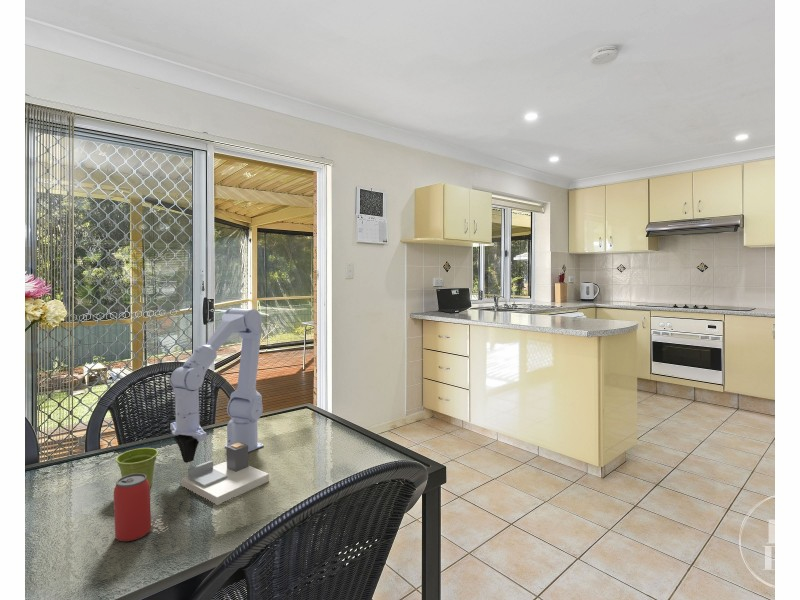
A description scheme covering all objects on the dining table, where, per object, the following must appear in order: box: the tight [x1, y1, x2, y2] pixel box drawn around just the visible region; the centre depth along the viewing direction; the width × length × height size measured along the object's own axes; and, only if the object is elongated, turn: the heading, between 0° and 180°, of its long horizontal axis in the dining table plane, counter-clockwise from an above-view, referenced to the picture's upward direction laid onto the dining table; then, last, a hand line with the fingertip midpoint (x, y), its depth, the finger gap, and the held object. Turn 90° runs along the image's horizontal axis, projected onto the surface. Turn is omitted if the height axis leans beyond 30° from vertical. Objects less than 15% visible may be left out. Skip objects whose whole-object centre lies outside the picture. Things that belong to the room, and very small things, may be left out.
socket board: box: [181, 460, 270, 506], centre depth 117 cm, size 16×15×2 cm
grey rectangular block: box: [225, 442, 250, 472], centre depth 122 cm, size 4×4×6 cm
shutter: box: [187, 459, 227, 487], centre depth 116 cm, size 7×6×3 cm
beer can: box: [113, 473, 152, 543], centre depth 95 cm, size 7×7×12 cm
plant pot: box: [115, 447, 159, 488], centre depth 114 cm, size 9×9×9 cm
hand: (188, 461), depth 121 cm, fingers closed
